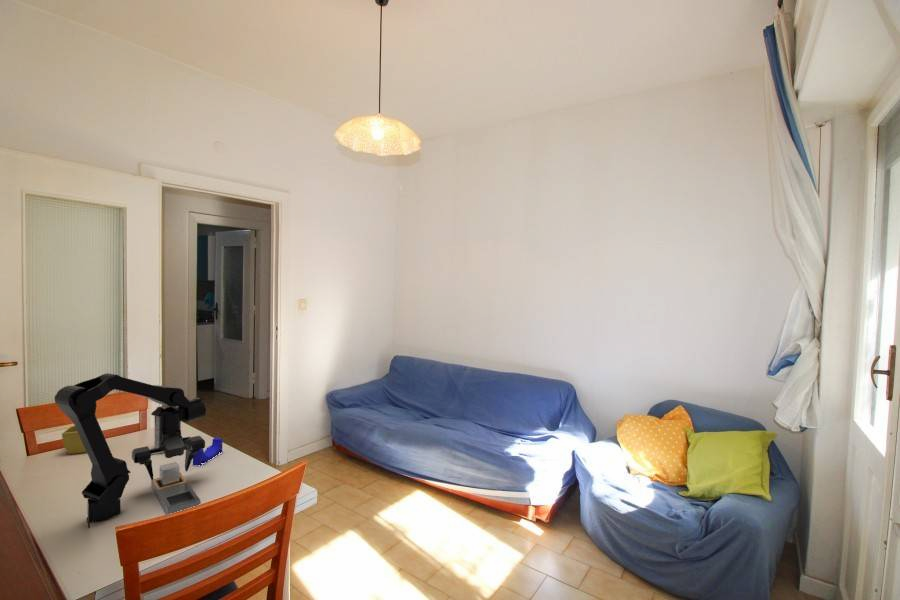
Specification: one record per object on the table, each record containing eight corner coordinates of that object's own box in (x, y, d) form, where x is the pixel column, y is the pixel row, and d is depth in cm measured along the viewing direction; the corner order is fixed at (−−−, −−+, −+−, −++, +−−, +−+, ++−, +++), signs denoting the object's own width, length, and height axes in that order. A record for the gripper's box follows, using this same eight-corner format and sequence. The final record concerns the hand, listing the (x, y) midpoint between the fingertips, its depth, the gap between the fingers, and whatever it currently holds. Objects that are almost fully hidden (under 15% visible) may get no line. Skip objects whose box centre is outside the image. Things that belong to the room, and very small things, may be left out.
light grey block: (162, 492, 130) (162, 470, 130) (159, 487, 133) (159, 465, 133) (179, 487, 133) (179, 466, 133) (176, 482, 136) (176, 461, 136)
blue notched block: (211, 452, 164) (211, 437, 163) (222, 453, 163) (222, 438, 163) (188, 465, 152) (189, 449, 152) (200, 466, 151) (200, 450, 151)
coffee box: (157, 446, 168) (157, 406, 167) (176, 444, 171) (176, 404, 170) (153, 454, 160) (153, 413, 159) (173, 452, 163) (174, 411, 162)
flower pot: (70, 448, 163) (70, 425, 163) (99, 445, 167) (98, 423, 167) (61, 457, 155) (61, 433, 155) (91, 453, 159) (91, 430, 159)
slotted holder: (168, 520, 117) (168, 509, 117) (151, 488, 134) (151, 479, 134) (200, 510, 123) (200, 499, 122) (180, 481, 140) (180, 472, 140)
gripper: (137, 440, 120) (137, 494, 121) (210, 426, 133) (209, 475, 134) (131, 430, 128) (131, 480, 129) (200, 418, 141) (200, 463, 142)
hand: (169, 475), depth 133 cm, fingers open, 9 cm apart
